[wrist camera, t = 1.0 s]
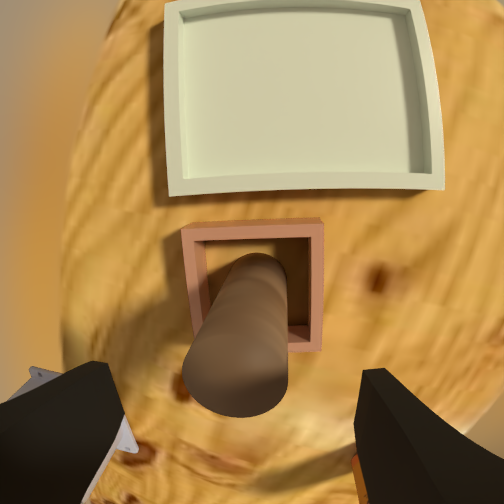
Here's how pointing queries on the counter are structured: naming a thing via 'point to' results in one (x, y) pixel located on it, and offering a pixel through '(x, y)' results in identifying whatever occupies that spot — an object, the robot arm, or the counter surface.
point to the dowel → (243, 342)
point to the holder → (313, 228)
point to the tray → (300, 96)
